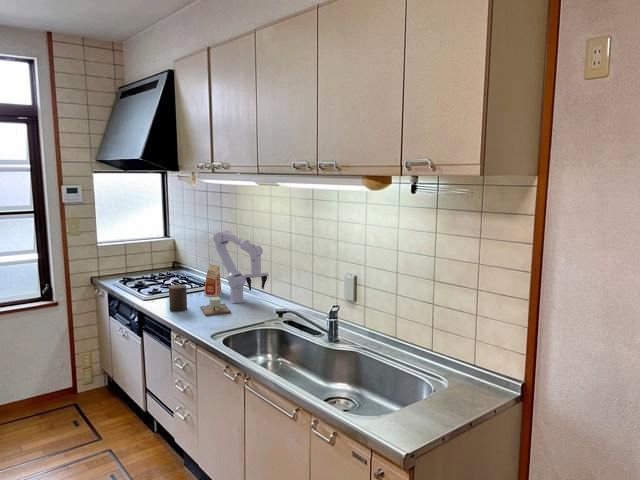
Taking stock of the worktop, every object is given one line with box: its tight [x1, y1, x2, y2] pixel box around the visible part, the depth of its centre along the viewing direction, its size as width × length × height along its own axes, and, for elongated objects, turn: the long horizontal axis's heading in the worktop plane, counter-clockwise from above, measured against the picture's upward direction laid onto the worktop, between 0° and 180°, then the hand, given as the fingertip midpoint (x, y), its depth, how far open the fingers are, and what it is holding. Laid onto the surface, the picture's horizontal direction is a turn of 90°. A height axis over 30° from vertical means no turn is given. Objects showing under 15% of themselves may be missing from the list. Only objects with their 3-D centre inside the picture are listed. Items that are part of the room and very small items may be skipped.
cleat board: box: [200, 303, 232, 317], centre depth 275 cm, size 16×14×3 cm
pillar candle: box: [168, 284, 188, 313], centre depth 276 cm, size 10×10×15 cm
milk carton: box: [204, 263, 222, 297], centre depth 308 cm, size 9×9×20 cm
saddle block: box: [209, 296, 222, 311], centre depth 275 cm, size 6×5×6 cm
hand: (256, 289), depth 286 cm, fingers open, 7 cm apart
